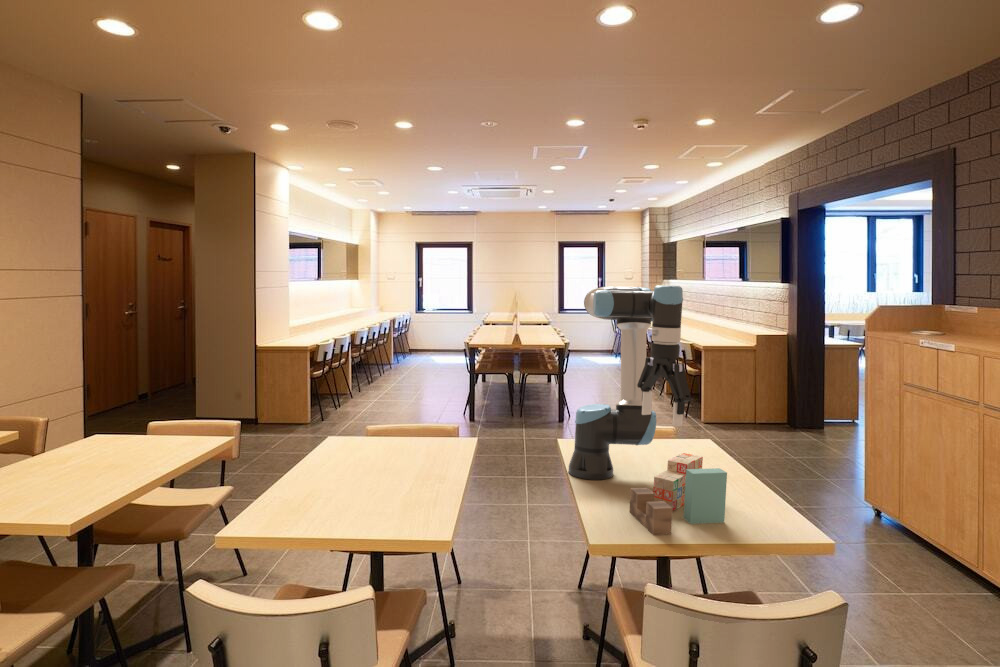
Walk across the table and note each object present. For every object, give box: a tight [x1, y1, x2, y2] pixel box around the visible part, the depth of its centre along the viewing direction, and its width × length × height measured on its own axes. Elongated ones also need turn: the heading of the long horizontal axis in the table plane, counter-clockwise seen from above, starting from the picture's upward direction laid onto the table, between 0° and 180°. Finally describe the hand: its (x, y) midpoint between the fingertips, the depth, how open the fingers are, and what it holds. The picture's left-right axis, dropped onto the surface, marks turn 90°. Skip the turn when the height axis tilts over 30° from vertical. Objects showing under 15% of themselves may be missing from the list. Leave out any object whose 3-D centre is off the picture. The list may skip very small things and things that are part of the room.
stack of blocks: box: [652, 452, 704, 512], centre depth 185 cm, size 21×6×12 cm, turn 140°
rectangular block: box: [683, 467, 728, 525], centre depth 170 cm, size 4×10×14 cm, turn 100°
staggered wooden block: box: [629, 487, 673, 536], centre depth 167 cm, size 16×5×7 cm, turn 10°
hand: (661, 420), depth 168 cm, fingers open, 13 cm apart
